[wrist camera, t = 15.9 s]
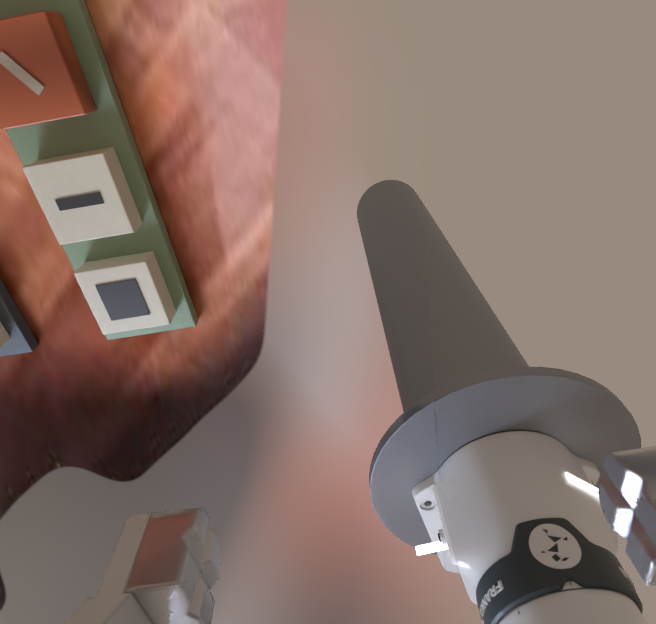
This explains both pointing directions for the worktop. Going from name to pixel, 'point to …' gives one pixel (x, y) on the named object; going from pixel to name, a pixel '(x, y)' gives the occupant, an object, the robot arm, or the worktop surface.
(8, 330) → the strip
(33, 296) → the worktop surface
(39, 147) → the green word strip
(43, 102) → the brown flat square block
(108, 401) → the worktop surface
